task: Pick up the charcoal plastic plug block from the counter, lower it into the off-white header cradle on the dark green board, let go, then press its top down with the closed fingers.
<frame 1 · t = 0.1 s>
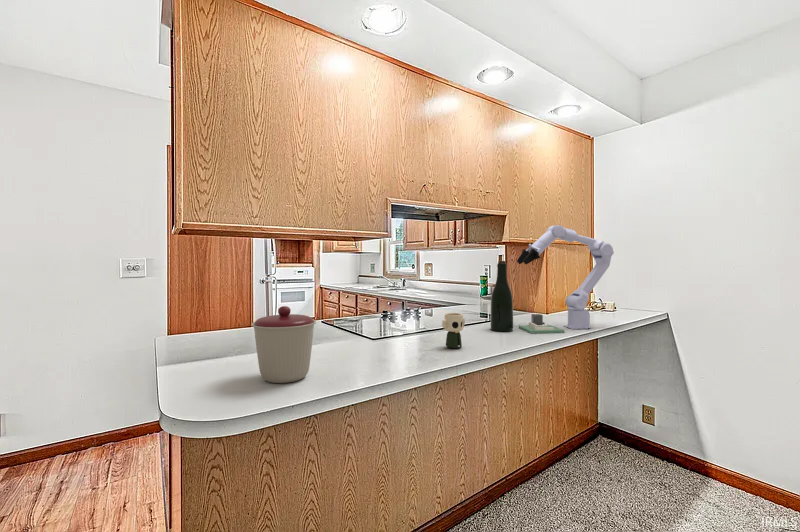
hand: (521, 262, 197), 32 cm above the table, tool tilted 50°, fingers open, 7 cm apart
canister: (285, 378, 120), on the table
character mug: (453, 348, 158), on the table
plug: (536, 326, 204), on the table
board: (540, 330, 193), on the table
wine bottle: (501, 330, 194), on the table
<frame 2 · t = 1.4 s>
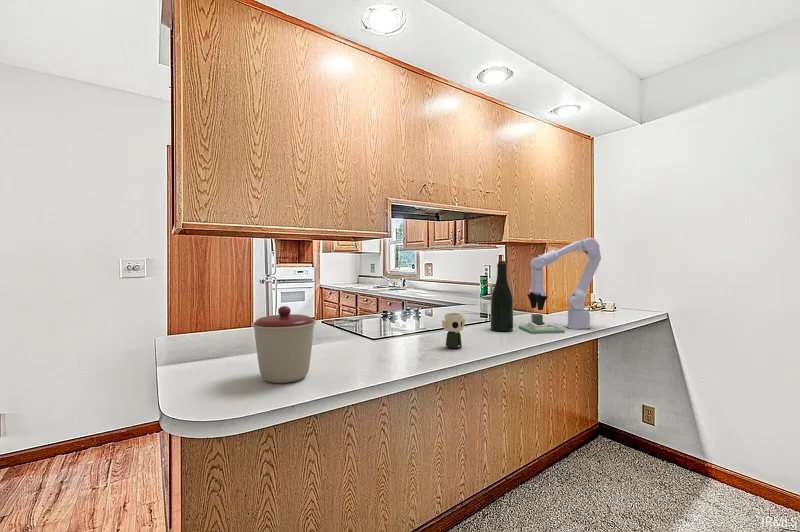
hand: (536, 308, 204), 9 cm above the table, tool pointing down, fingers open, 7 cm apart
nothing on the table moved.
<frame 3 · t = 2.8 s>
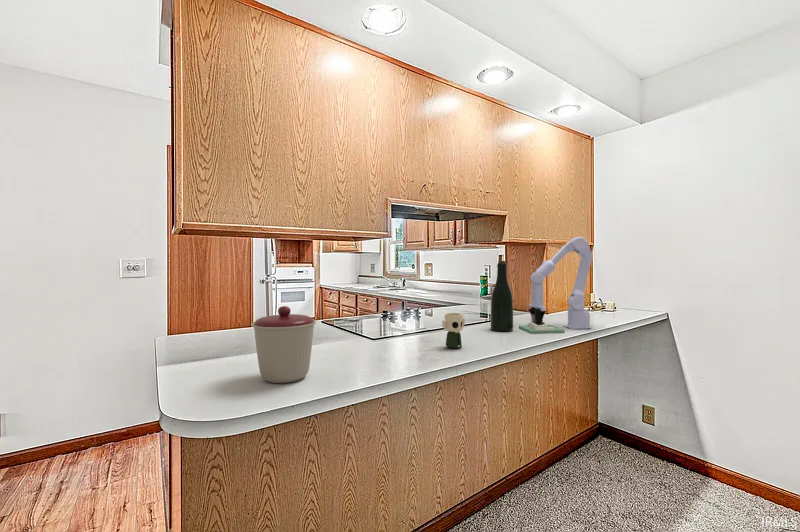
hand: (536, 323, 204), 1 cm above the table, tool pointing down, fingers closed on plug, 4 cm apart
plug: (536, 326, 204), on the table, touching gripper
everything else where it was.
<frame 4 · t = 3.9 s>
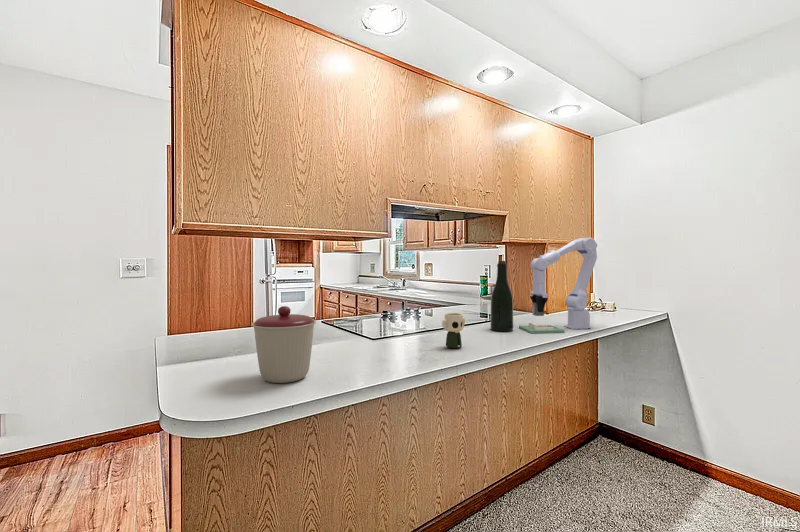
hand: (538, 311, 198), 8 cm above the table, tool pointing down, fingers closed on plug, 4 cm apart
plug: (538, 315, 198), point 7 cm above the table, touching gripper
everything else where it was.
when the fingers open (4 cm above the table, at t = 5.5 s): plug stays where it is, resting on board.
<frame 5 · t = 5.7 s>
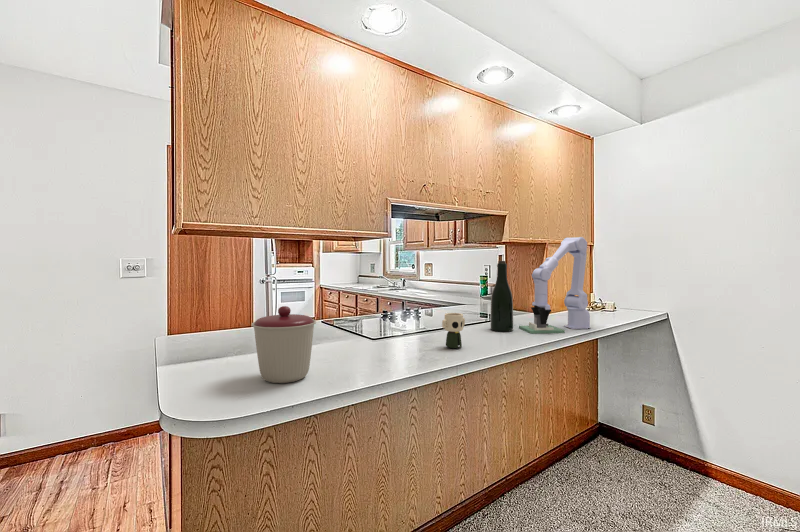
hand: (540, 323, 191), 4 cm above the table, tool pointing down, fingers open, 5 cm apart
plug: (540, 328, 191), point 1 cm above the table, touching board
everything else where it was.
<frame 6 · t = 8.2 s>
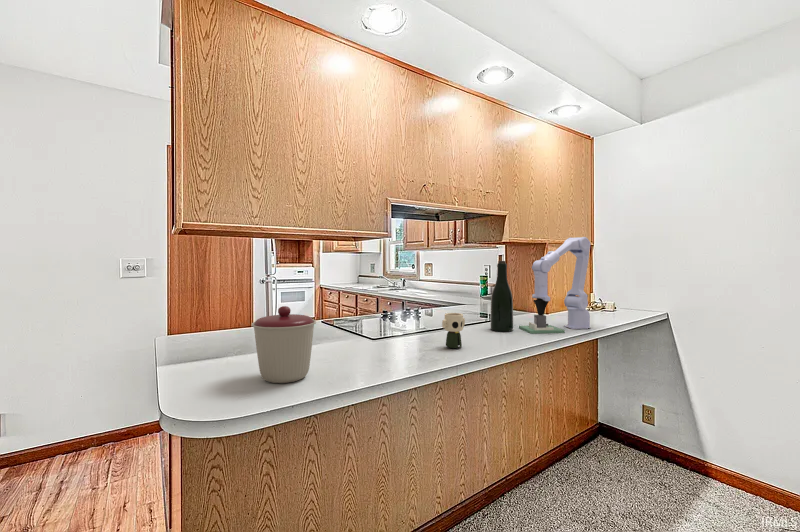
hand: (540, 315, 191), 8 cm above the table, tool pointing down, fingers closed
nothing on the table moved.
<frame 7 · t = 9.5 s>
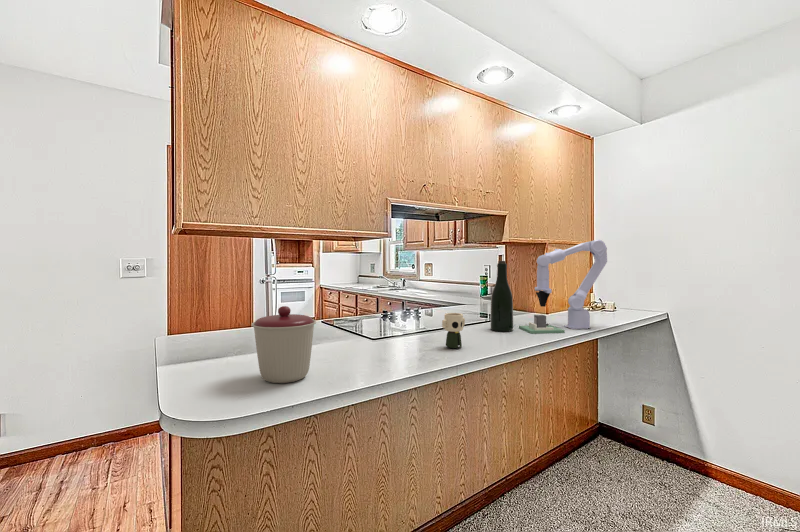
hand: (542, 306, 204), 10 cm above the table, tool pointing down, fingers closed
nothing on the table moved.
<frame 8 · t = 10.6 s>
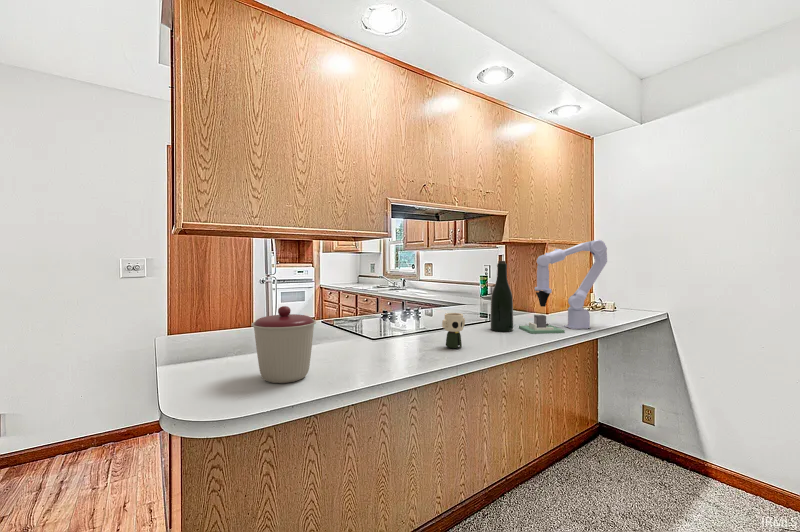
hand: (542, 306, 204), 10 cm above the table, tool pointing down, fingers closed
nothing on the table moved.
at the end: plug 0.6 cm from the target spot on the board, point 1.5 cm above the board's base; plug tilted 0°; the gripper is holding nothing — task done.
